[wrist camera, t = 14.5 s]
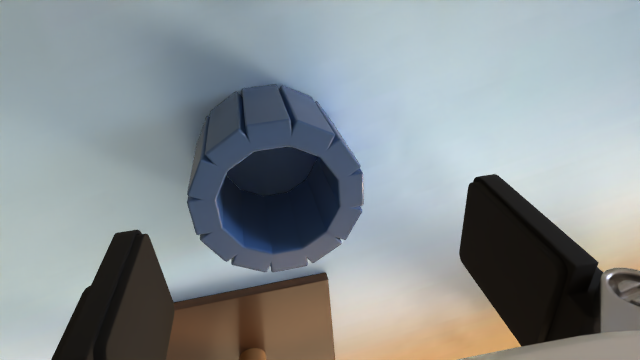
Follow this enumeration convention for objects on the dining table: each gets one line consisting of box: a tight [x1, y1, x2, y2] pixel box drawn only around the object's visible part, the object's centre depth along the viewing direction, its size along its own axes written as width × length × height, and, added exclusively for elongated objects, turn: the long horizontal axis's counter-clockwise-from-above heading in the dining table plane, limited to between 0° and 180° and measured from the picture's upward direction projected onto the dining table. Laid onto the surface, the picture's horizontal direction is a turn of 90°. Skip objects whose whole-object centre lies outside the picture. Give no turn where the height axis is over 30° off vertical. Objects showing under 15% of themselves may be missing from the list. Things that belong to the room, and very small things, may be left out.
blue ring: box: [187, 84, 364, 272], centre depth 16 cm, size 6×6×4 cm
